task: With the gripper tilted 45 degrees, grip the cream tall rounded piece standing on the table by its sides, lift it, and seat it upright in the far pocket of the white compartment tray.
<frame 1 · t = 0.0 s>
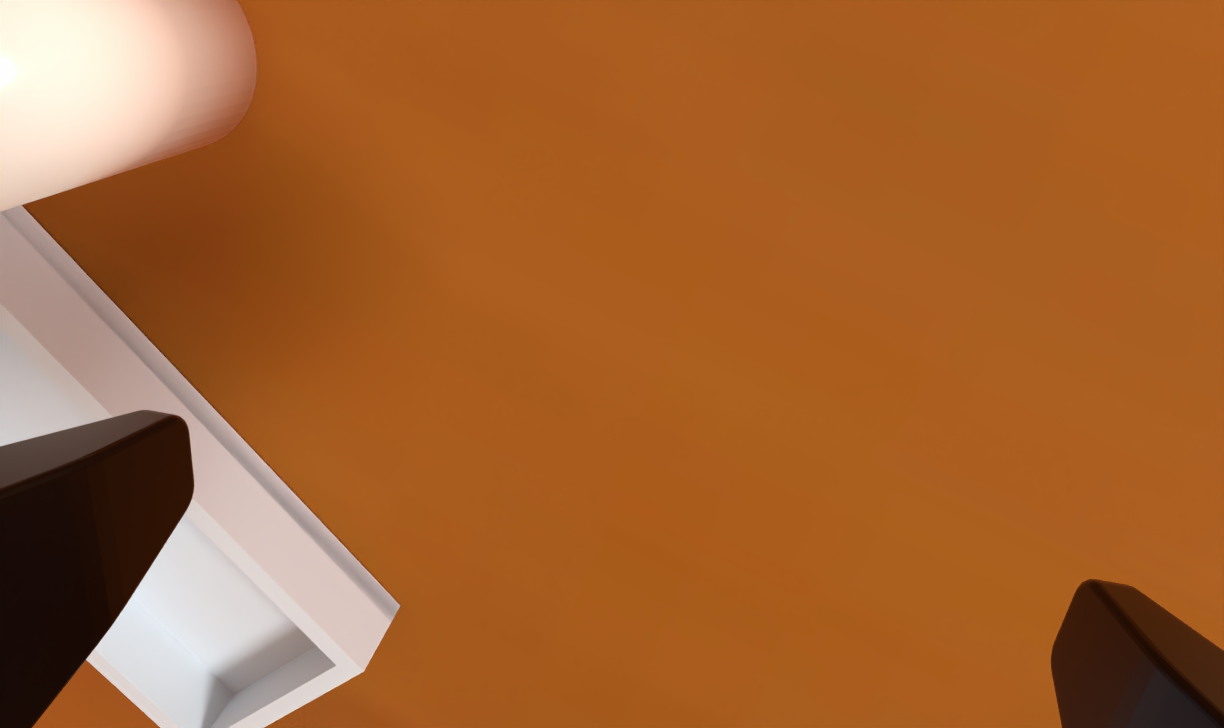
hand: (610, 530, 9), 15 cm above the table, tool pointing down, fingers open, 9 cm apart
white compartment tray: (77, 409, 28), on the table
cream tall rounded piece: (163, 49, 23), on the table
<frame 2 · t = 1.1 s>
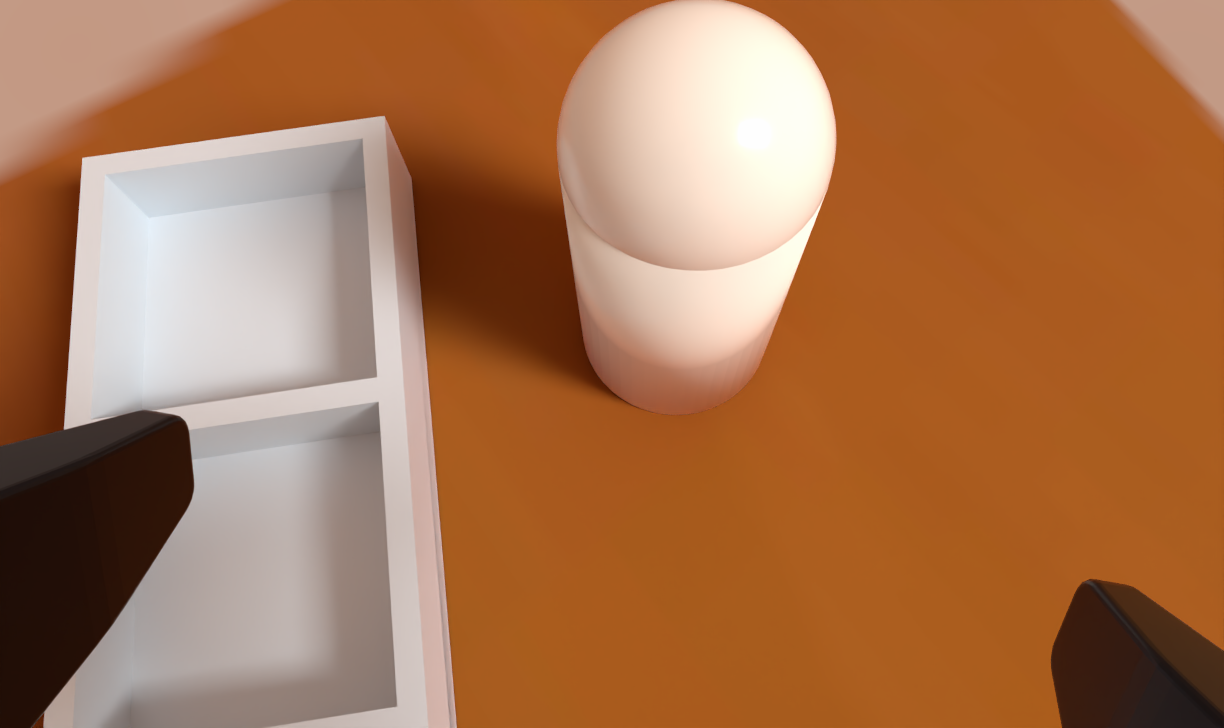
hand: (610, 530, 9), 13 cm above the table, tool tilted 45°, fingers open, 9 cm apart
white compartment tray: (286, 584, 22), on the table
cream tall rounded piece: (674, 326, 24), on the table
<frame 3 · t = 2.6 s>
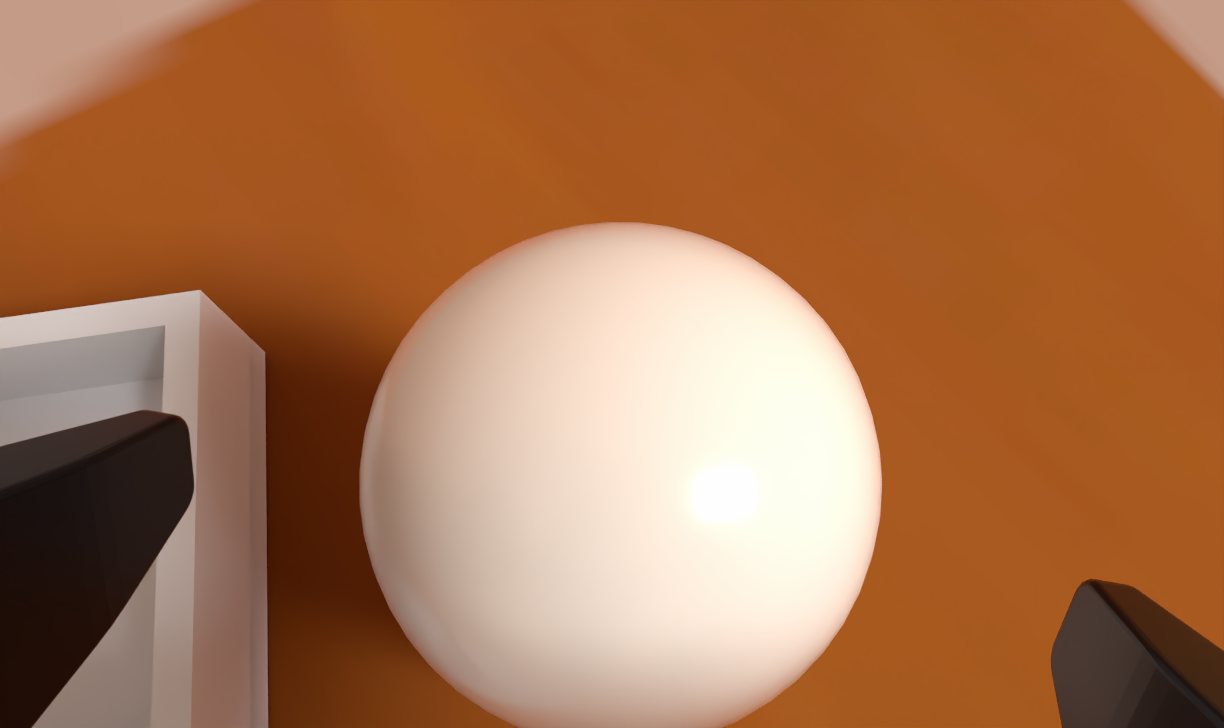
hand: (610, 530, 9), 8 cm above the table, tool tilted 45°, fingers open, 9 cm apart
cream tall rounded piece: (626, 583, 17), on the table
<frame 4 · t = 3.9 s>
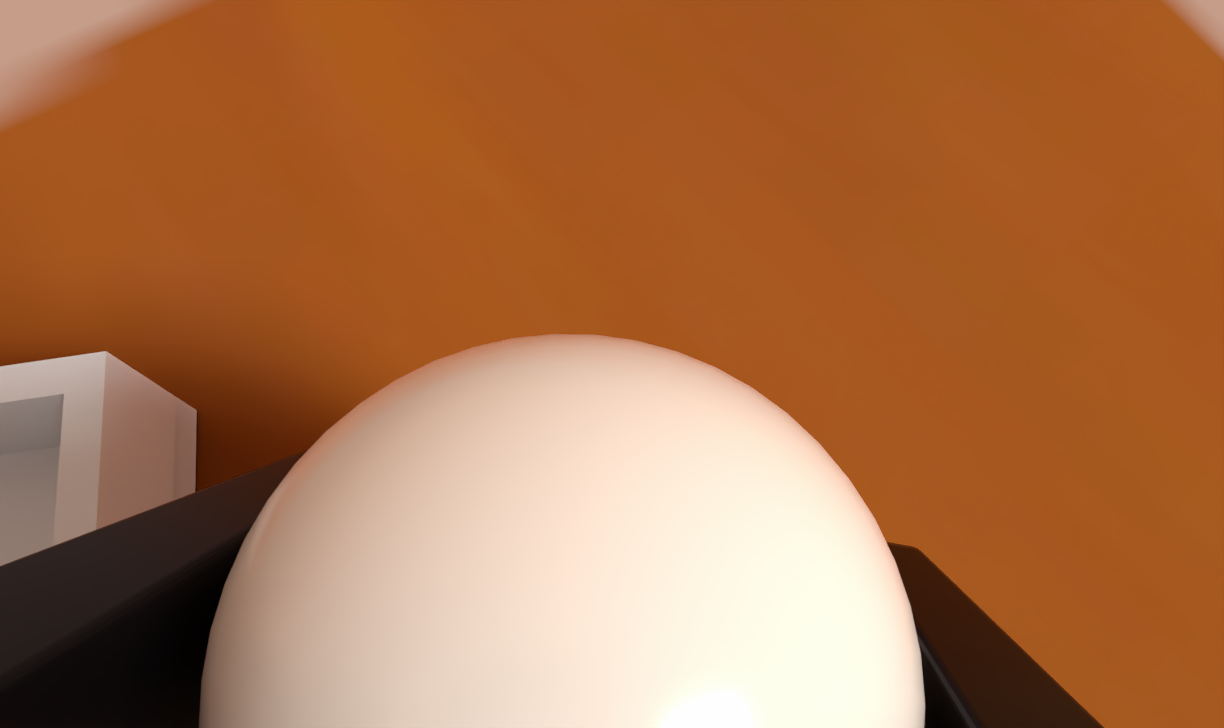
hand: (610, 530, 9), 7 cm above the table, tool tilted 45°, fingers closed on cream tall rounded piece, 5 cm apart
cream tall rounded piece: (604, 684, 15), on the table, touching gripper
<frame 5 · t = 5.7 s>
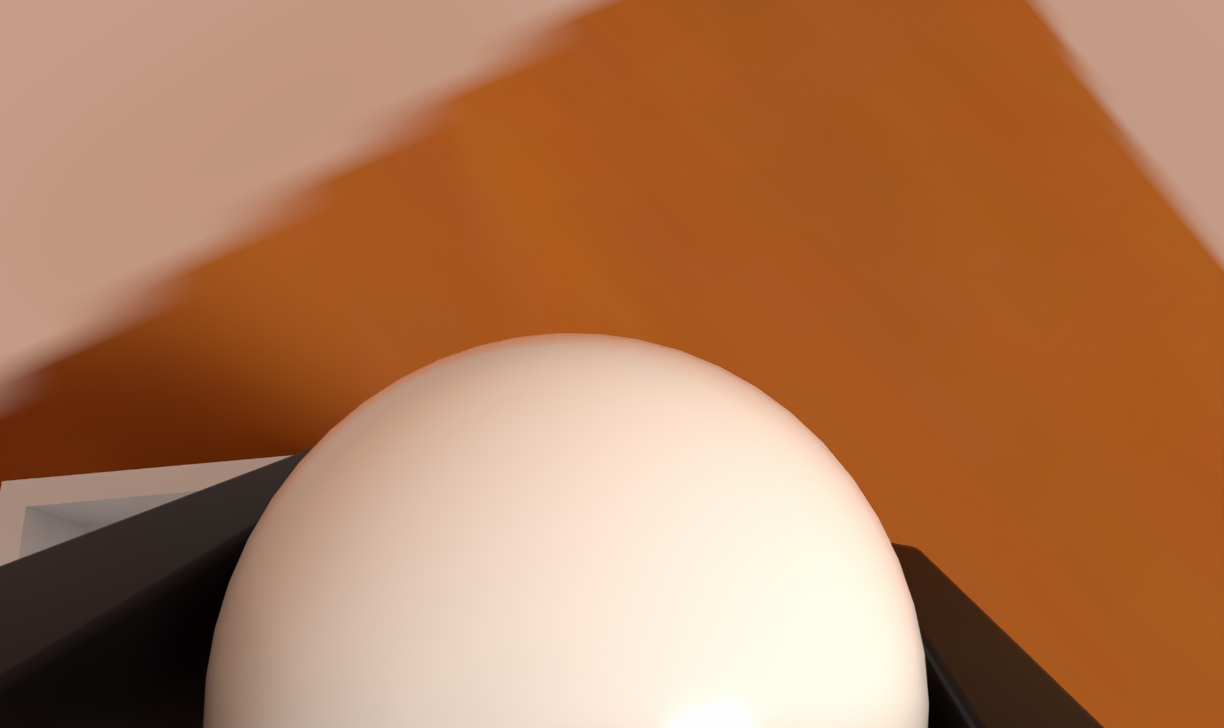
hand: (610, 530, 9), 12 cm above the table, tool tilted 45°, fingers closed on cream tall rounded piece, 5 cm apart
cream tall rounded piece: (605, 683, 15), point 6 cm above the table, touching gripper
when the fingers open (9 cm above the table, at t = 7.7 s): cream tall rounded piece drops 1 cm, resting on white compartment tray.
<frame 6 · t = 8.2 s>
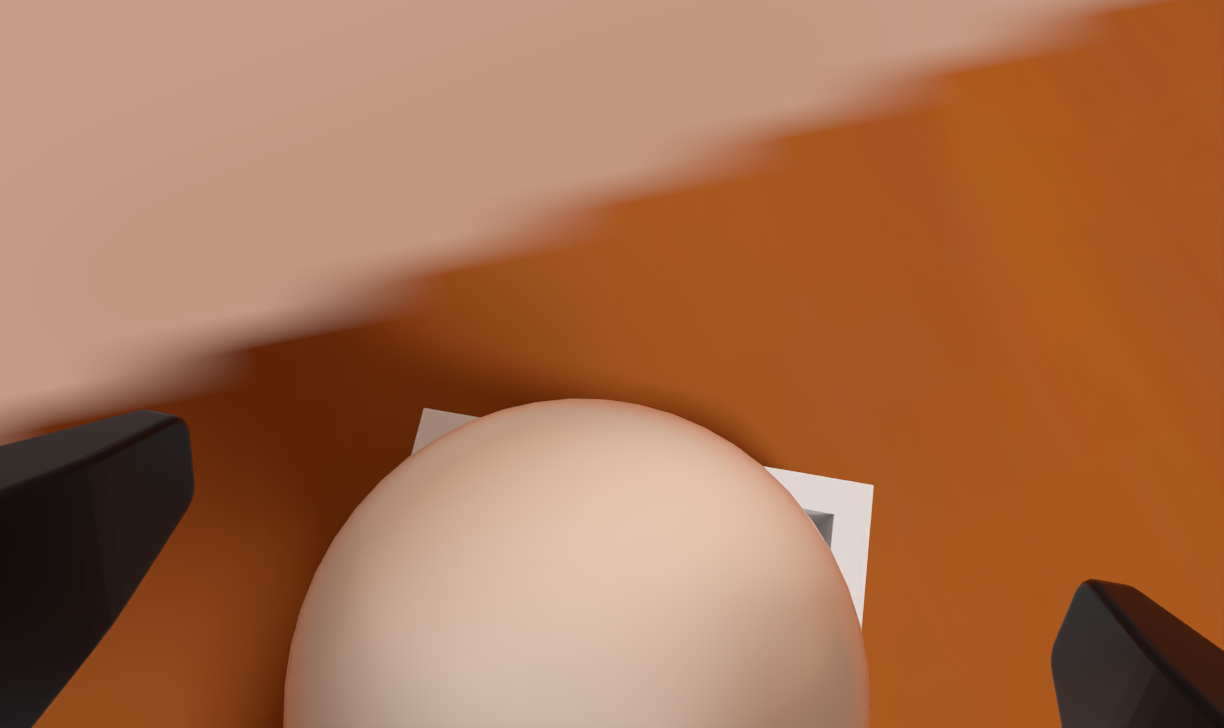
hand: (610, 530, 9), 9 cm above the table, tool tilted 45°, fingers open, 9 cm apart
cream tall rounded piece: (607, 686, 16), point 1 cm above the table, touching white compartment tray
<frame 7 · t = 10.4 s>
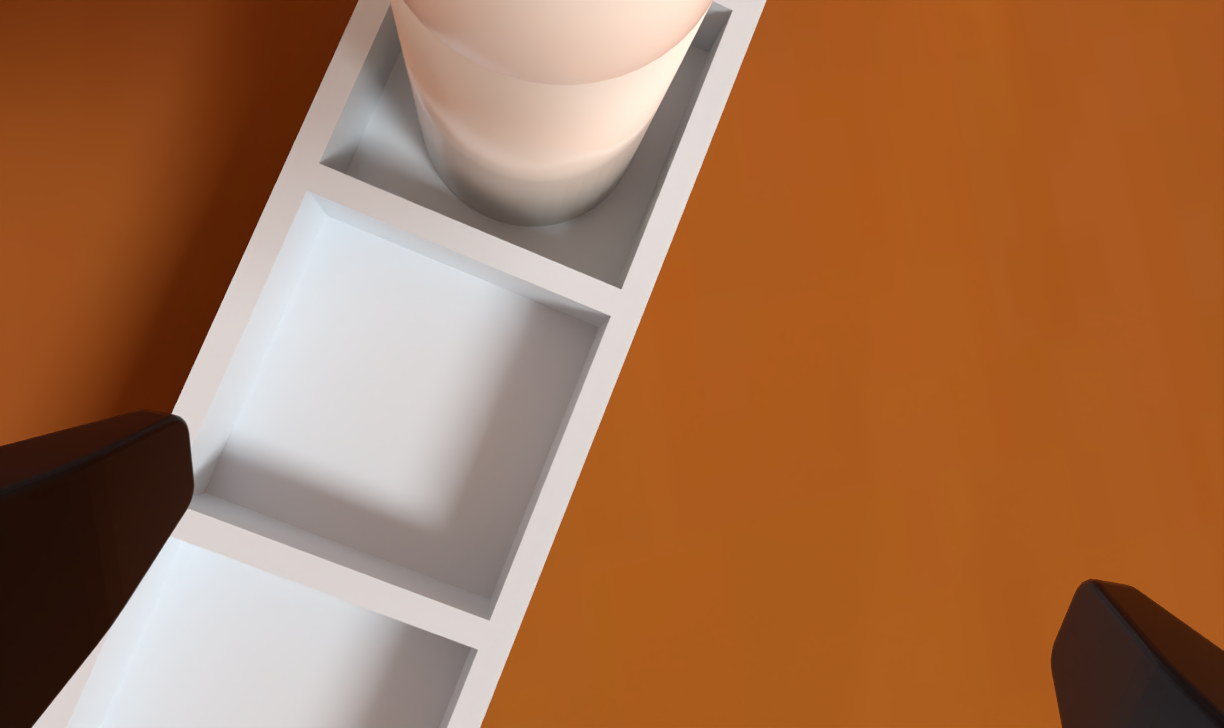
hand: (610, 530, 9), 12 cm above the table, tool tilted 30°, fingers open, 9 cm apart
white compartment tray: (411, 407, 21), on the table
cream tall rounded piece: (530, 120, 21), point 1 cm above the table, touching white compartment tray
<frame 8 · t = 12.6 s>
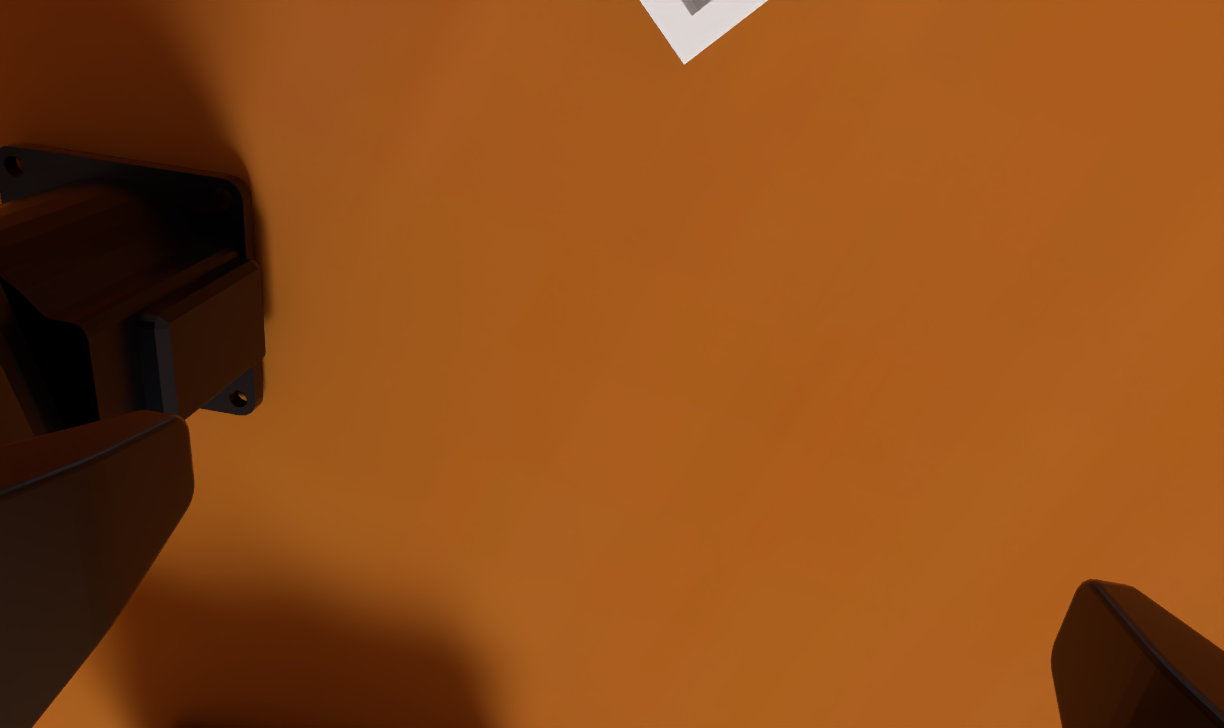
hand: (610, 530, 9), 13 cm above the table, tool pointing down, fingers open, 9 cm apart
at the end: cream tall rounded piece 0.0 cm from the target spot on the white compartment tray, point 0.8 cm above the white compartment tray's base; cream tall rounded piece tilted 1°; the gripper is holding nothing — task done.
